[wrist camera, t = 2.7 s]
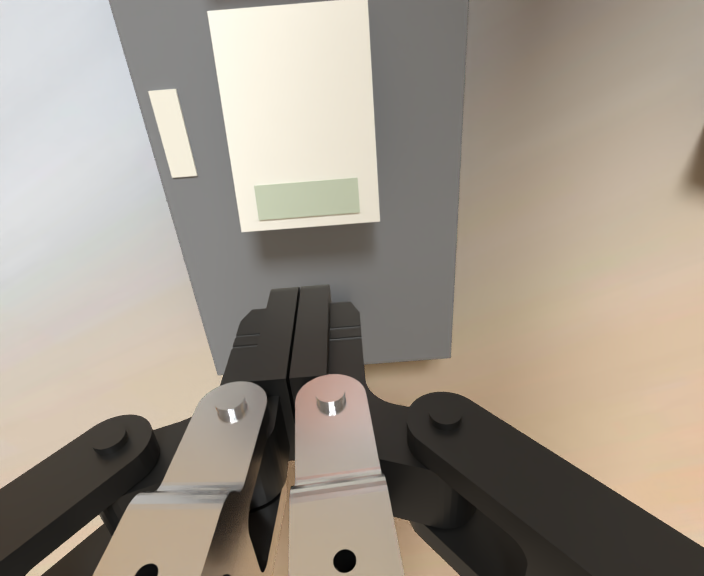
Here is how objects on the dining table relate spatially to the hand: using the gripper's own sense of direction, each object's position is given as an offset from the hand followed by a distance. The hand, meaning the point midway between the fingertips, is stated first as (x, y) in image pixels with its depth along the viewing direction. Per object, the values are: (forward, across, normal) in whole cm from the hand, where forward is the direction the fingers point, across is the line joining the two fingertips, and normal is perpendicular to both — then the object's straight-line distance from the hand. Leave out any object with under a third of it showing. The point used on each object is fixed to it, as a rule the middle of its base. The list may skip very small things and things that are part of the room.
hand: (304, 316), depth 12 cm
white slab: (+7, 0, -3) cm, 8 cm away
